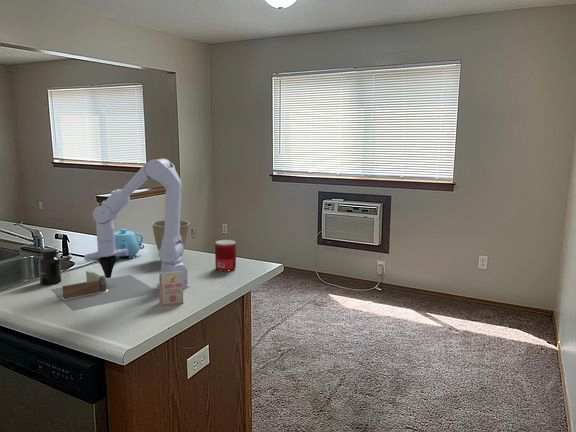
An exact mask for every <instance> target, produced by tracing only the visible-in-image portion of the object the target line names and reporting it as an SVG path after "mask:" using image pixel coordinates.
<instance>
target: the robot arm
mask: <svg viewBox="0 0 576 432" xmlns="http://www.w3.org/2000/svg"><path fill="white" fill-rule="evenodd" d="M175 167H176V166H175V165H174V164H173V162H171V161H170V160H169V159H167V158H165V157H164V158H163V157H162V158H158V159H151V160H149V161H148V162H147V163H146V164H144V165H143V166H142V167H141V168H140V169H139V170H138V171H137V172H136V173H135V174H134V176H133V177H131V179H130V180H129V181H128V182H127V183H126V184H125V185H124V186H123V188H122V189H121V188H118V189H115V190H112V191H111V192H110V196H108V198H107V199H105V200H103V201H102V202H101V205H99V206H96V207H95V208H94V210H93V212H92V218H93V220H94V221H95V222H96V223H95V226H96V228H95V229H96V241H97V243H96V245H97V251H94V252H92V253H87V254H84V255H83V256H84V258H83V259H84V262H85V261H86V262H89V261H93V260H97V261H98V263H99V265H100V267H101V269H102V271H103V274H104V276H106V279H110V278H112V274H113V270H114V267H115V264H116V263H117V262H118V261H117V260H118V259H117V258H116V257H115V256H120V255H128V249H115V232H116V231H115V219H116V218H117V214H118V213H119V212H120V211H121V210H122V209H123V208H124V207H125V206H126V205H127V204H128V203H129V202H130V201H131V195H132V194H133V193H134V192H135V191H136V190H138V188H140V187H141V186H142V185H143V184H144V183H145V182H146V181H148V180H154V181H156V182H158V183H160V185H162V187H163V188H165V203H164V204H165V205H164V207H165V208H164V209H165V210H164V220H165V228H164V237H163V239H162V245H161V248H160V249H159V251H158V257H159V259H160V266H161V268H160V269H161V272H160V273H168V272H179V271H182V280H183V289H186V288H190V287H191V285H190V284H189V283H188V268H187V267H186V265H185V264H184V263H183V259H184V258H183V257H182V256H183V254H184V250H185V248H184V245H183V243H182V236H181V235H180V220H181V211H182V188H183V185H182V184H183V182H182V180H181V177H179V174H178V171H176V168H175ZM182 253H183V254H182ZM181 254H182V256H181ZM120 257H121V256H120ZM156 285H158V286H159V282H157V284H156Z"/></svg>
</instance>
